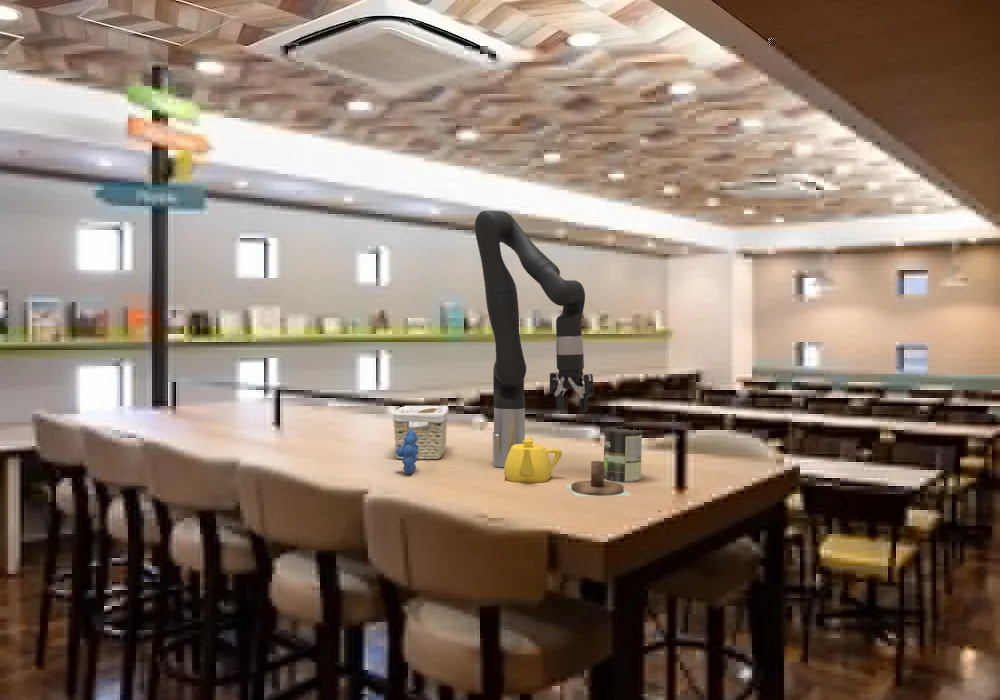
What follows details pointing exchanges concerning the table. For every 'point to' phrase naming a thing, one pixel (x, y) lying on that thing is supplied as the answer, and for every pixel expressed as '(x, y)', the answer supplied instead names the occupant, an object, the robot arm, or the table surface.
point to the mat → (593, 495)
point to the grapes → (409, 451)
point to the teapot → (529, 462)
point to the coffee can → (622, 455)
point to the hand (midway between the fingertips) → (572, 410)
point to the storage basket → (422, 429)
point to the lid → (597, 483)
